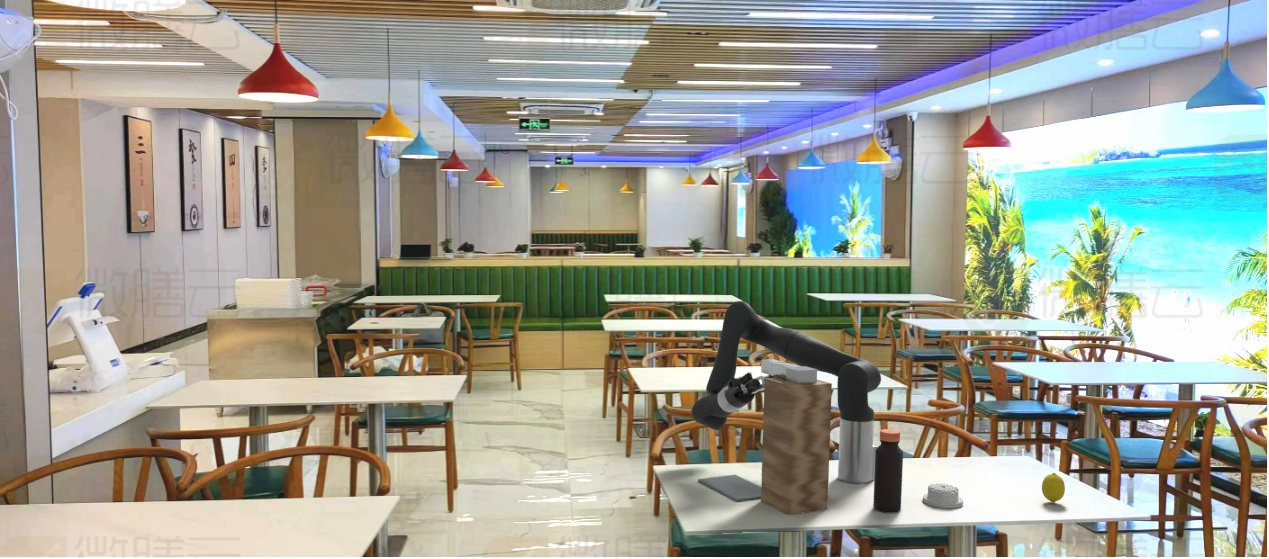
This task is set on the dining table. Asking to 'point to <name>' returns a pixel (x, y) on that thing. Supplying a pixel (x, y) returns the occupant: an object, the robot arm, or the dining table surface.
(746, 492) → the mat
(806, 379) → the grey block
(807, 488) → the tall wooden block
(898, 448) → the bottle
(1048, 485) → the lemon
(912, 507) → the dining table surface
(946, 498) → the grey cake on plate
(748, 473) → the dining table surface
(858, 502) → the dining table surface
